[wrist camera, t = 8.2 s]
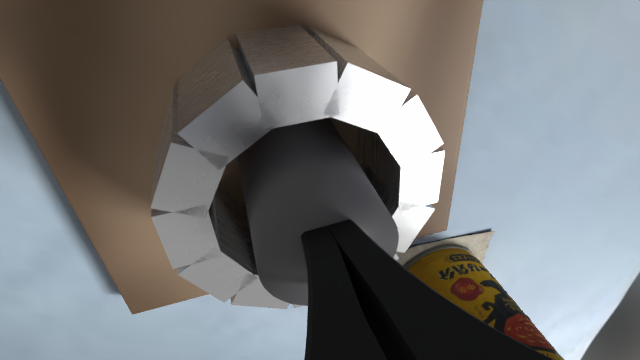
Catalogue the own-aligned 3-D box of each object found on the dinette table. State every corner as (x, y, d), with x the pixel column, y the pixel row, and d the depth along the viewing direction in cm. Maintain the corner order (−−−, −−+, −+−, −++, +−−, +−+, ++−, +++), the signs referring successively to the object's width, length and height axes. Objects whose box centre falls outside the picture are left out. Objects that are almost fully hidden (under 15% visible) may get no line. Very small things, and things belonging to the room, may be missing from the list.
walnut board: (478, -86, 14) (496, -86, 13) (437, 218, 22) (446, 230, 21) (-42, -33, 11) (-60, -28, 10) (134, 297, 19) (132, 314, 18)
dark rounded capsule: (270, 80, 14) (311, 176, 9) (356, 127, 16) (426, 225, 11) (217, 168, 15) (229, 290, 11) (302, 201, 17) (344, 315, 13)
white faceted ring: (395, 10, 14) (459, 40, 11) (387, 209, 19) (428, 269, 16) (122, 50, 12) (102, 101, 9) (196, 256, 17) (200, 335, 14)
